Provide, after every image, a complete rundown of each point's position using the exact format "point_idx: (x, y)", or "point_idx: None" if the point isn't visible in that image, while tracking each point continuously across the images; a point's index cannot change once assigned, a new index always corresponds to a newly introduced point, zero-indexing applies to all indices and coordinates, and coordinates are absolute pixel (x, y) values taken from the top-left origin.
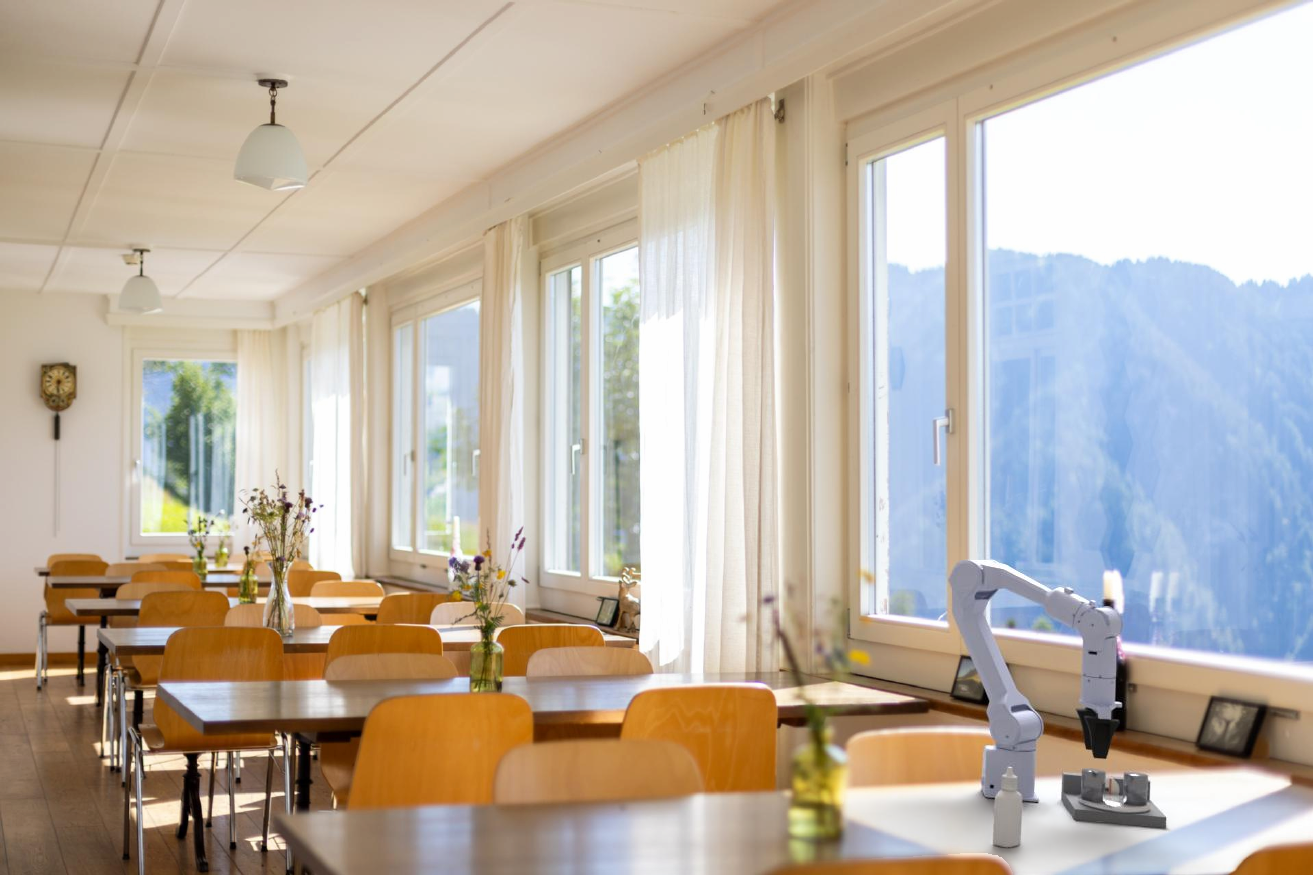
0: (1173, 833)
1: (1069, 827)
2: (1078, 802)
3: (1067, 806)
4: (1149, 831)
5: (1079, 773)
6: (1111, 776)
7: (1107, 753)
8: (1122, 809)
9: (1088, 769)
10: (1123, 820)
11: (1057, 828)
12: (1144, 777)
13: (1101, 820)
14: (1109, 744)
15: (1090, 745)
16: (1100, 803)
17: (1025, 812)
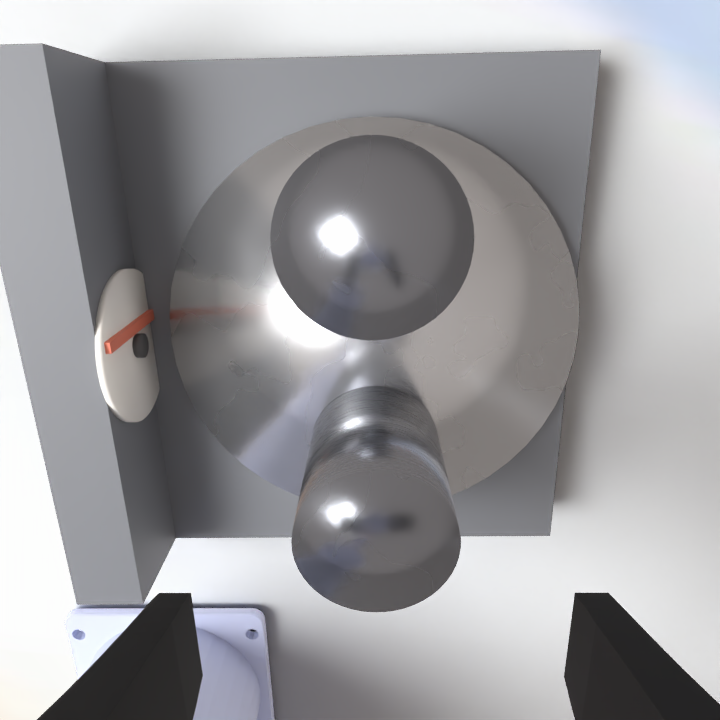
0: (701, 39)
1: (686, 542)
2: None
3: None
4: (683, 180)
5: (61, 518)
6: (28, 330)
7: (638, 625)
8: (573, 321)
9: (340, 570)
10: None
11: (715, 587)
12: (458, 182)
13: None
14: (714, 702)
15: (185, 683)
16: (460, 418)
17: (467, 666)
